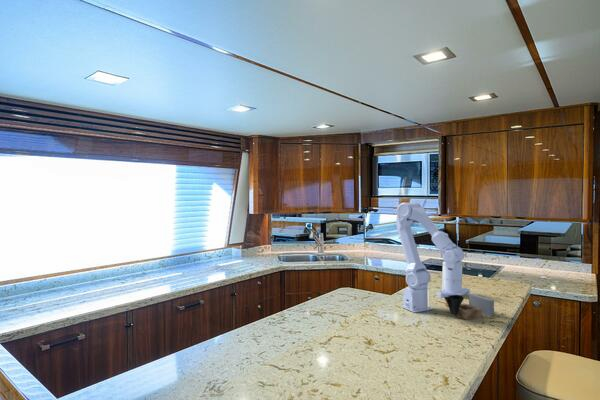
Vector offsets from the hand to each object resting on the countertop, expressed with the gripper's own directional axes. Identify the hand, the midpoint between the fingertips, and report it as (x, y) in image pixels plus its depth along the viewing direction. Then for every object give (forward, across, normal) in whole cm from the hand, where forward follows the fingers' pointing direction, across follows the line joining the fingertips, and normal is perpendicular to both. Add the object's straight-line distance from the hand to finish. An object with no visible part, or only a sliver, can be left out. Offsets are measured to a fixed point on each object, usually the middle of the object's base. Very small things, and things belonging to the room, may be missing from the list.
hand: (453, 314), depth 137 cm
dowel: (+1, +9, +11) cm, 14 cm away
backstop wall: (+1, +14, 0) cm, 14 cm away
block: (+1, +6, 0) cm, 6 cm away
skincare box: (+1, +23, +24) cm, 33 cm away
